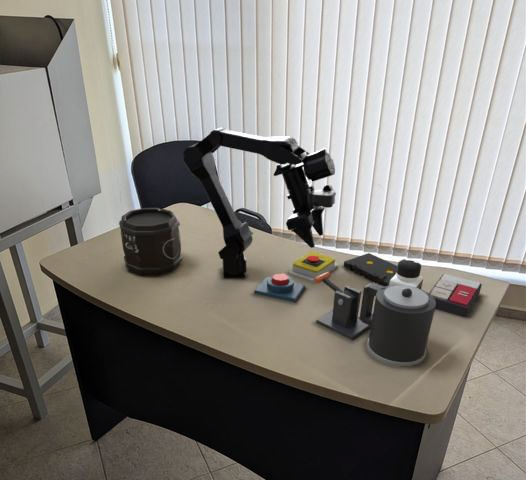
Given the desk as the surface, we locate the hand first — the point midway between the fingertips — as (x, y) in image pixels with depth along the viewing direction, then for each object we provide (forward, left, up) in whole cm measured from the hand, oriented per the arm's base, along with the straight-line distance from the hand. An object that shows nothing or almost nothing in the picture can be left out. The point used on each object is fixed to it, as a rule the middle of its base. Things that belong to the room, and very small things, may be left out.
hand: (317, 241), depth 135 cm
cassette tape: (+22, +8, -15) cm, 28 cm away
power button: (-10, -1, -12) cm, 15 cm away
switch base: (+3, -21, -15) cm, 25 cm away
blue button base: (-10, -1, -15) cm, 18 cm away
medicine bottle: (+23, -10, -15) cm, 29 cm away
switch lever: (+1, -17, -7) cm, 19 cm away
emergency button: (+3, +12, -15) cm, 19 cm away
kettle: (+11, -31, -15) cm, 36 cm away
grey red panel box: (+37, -11, -15) cm, 42 cm away
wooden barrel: (-46, +21, -15) cm, 53 cm away
